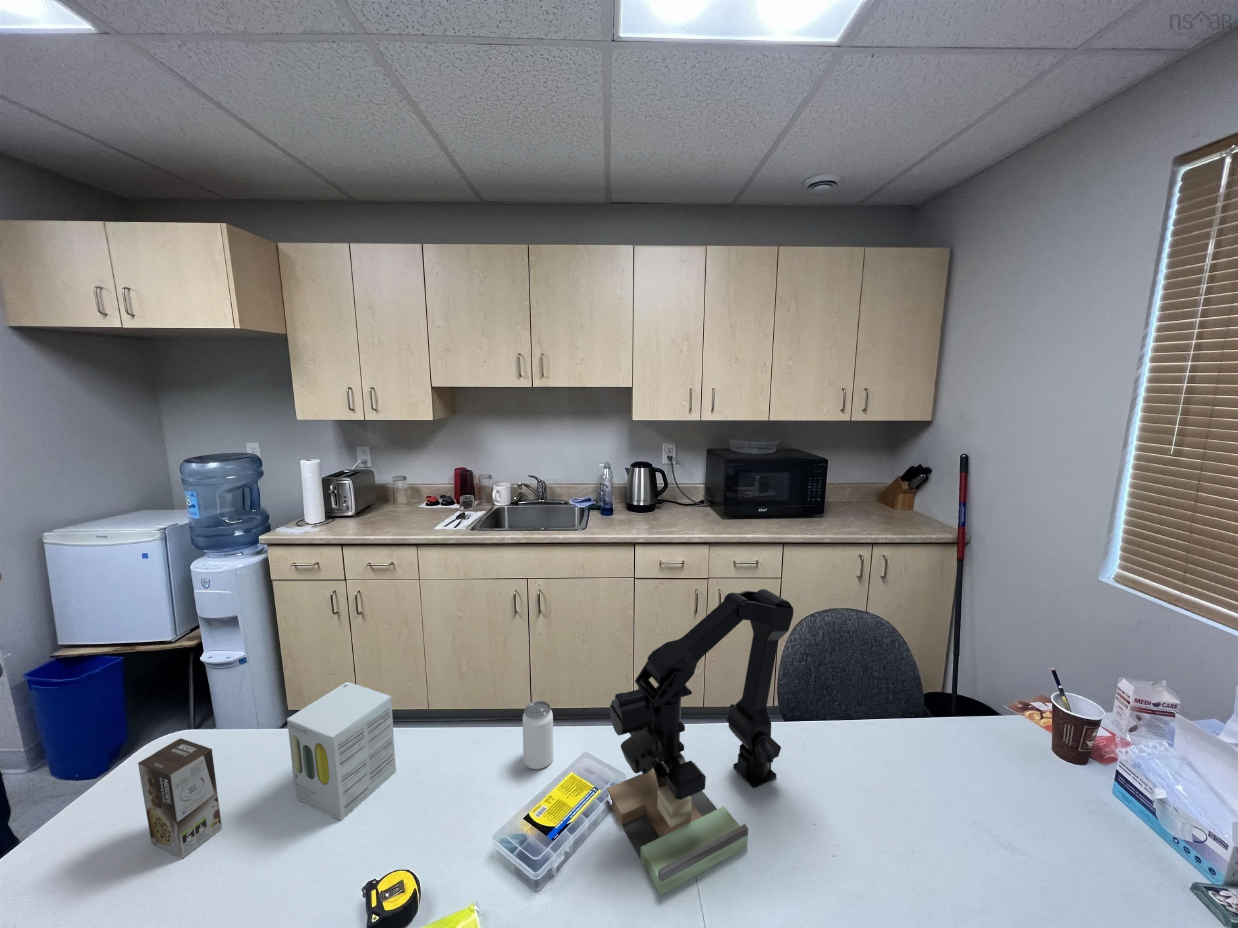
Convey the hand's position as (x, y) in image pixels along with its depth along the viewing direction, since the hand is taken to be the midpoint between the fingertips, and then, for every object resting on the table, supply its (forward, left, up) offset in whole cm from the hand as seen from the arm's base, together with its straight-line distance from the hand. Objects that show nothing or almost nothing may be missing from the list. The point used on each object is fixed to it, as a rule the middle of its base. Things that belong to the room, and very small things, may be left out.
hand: (663, 790), depth 89 cm
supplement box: (+55, -33, -4) cm, 64 cm away
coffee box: (+80, -33, -4) cm, 87 cm away
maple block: (0, +4, -1) cm, 4 cm away
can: (+18, -22, -4) cm, 29 cm away
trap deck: (0, +4, -4) cm, 5 cm away
